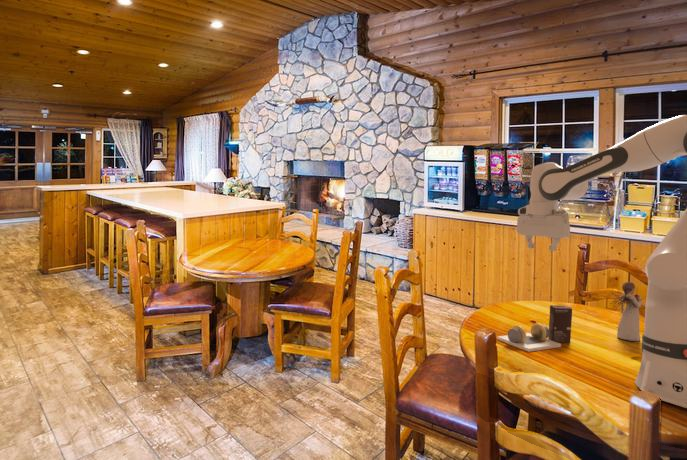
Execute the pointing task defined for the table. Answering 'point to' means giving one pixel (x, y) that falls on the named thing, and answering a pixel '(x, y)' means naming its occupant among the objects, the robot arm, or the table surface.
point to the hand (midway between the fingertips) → (541, 249)
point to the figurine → (629, 313)
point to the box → (560, 323)
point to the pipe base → (529, 338)
